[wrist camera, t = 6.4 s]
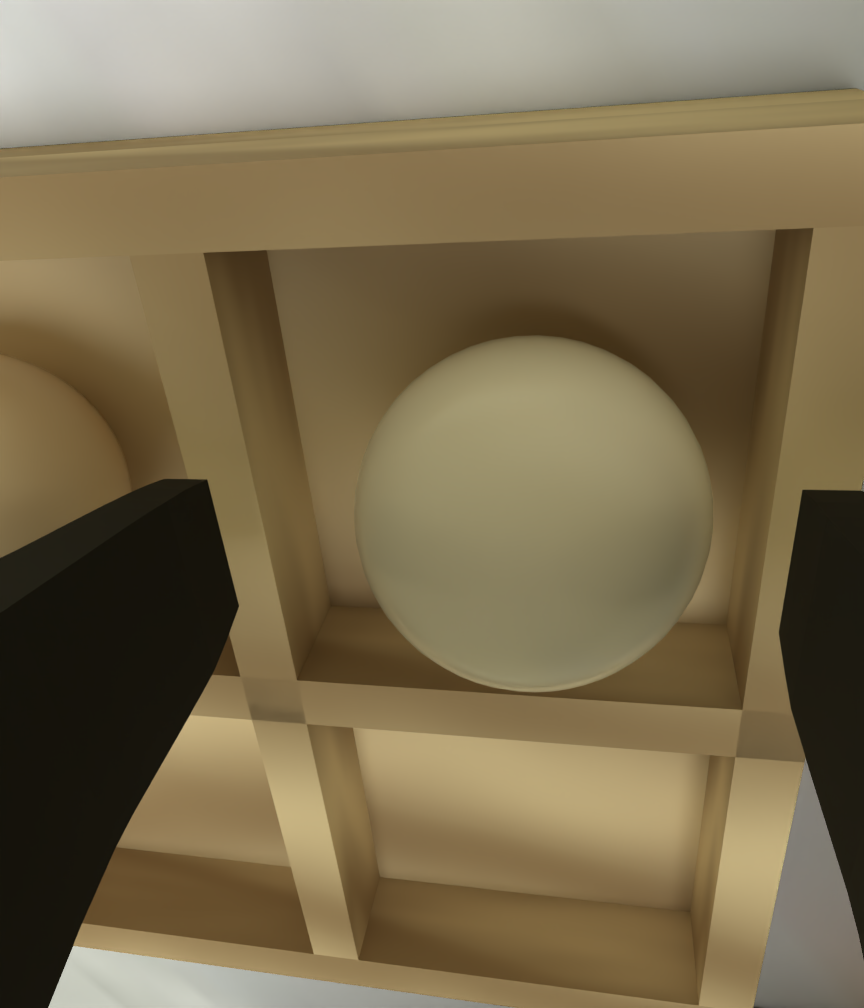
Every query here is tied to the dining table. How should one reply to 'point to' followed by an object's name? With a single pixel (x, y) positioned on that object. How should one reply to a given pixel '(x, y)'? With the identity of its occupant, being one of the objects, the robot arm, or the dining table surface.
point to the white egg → (533, 513)
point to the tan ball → (51, 455)
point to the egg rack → (336, 561)
